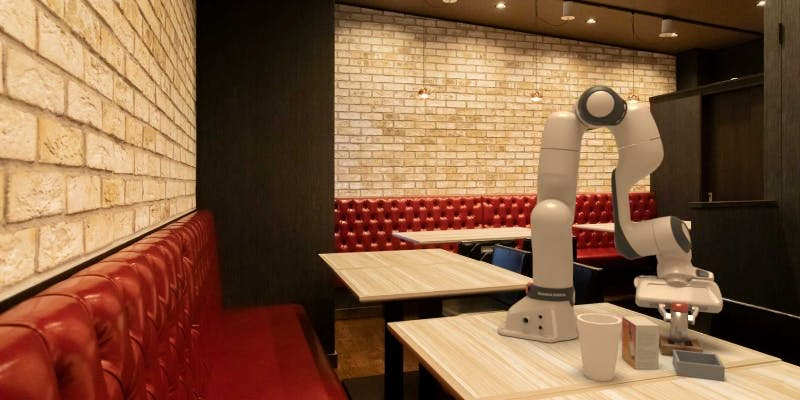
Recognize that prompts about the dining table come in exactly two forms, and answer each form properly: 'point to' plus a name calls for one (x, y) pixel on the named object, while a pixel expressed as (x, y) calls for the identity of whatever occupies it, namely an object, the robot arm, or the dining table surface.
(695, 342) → the wooden square frame
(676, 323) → the red-lidded jar
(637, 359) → the small box
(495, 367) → the dining table surface
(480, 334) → the dining table surface
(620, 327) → the foam cup
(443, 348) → the dining table surface
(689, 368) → the tray
